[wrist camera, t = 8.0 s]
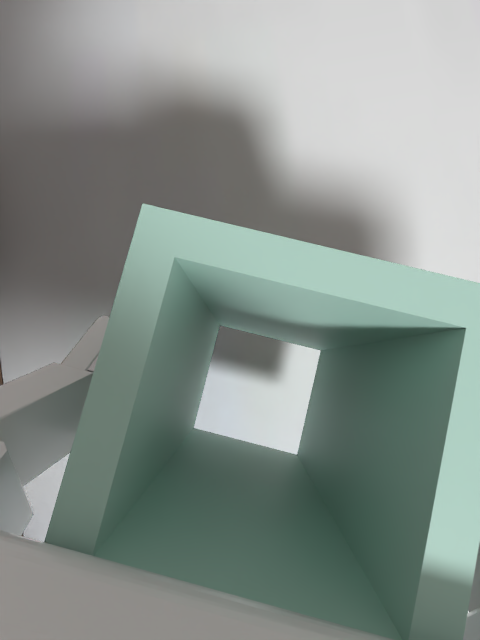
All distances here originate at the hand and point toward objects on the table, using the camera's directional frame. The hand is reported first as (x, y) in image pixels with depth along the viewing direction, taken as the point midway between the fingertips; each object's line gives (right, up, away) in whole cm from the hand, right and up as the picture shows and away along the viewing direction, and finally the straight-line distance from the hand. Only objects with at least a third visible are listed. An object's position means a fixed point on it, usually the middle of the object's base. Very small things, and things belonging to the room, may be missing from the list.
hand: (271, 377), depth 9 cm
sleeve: (0, -1, +5) cm, 5 cm away
